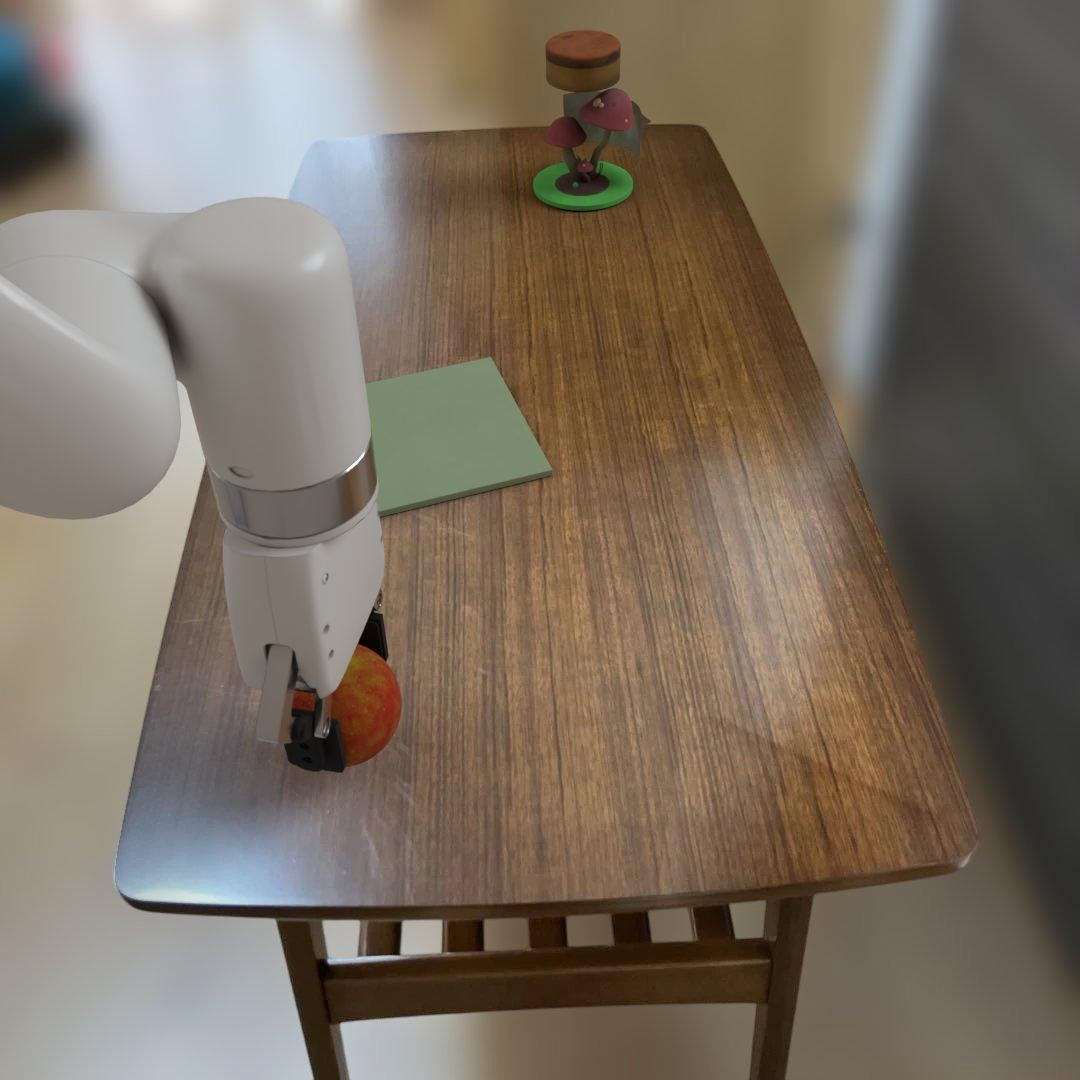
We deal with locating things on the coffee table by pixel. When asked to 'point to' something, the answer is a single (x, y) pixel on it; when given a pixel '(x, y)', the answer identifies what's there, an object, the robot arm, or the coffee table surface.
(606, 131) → the mushroom figurine
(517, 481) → the mat
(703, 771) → the coffee table surface
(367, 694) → the fruit
